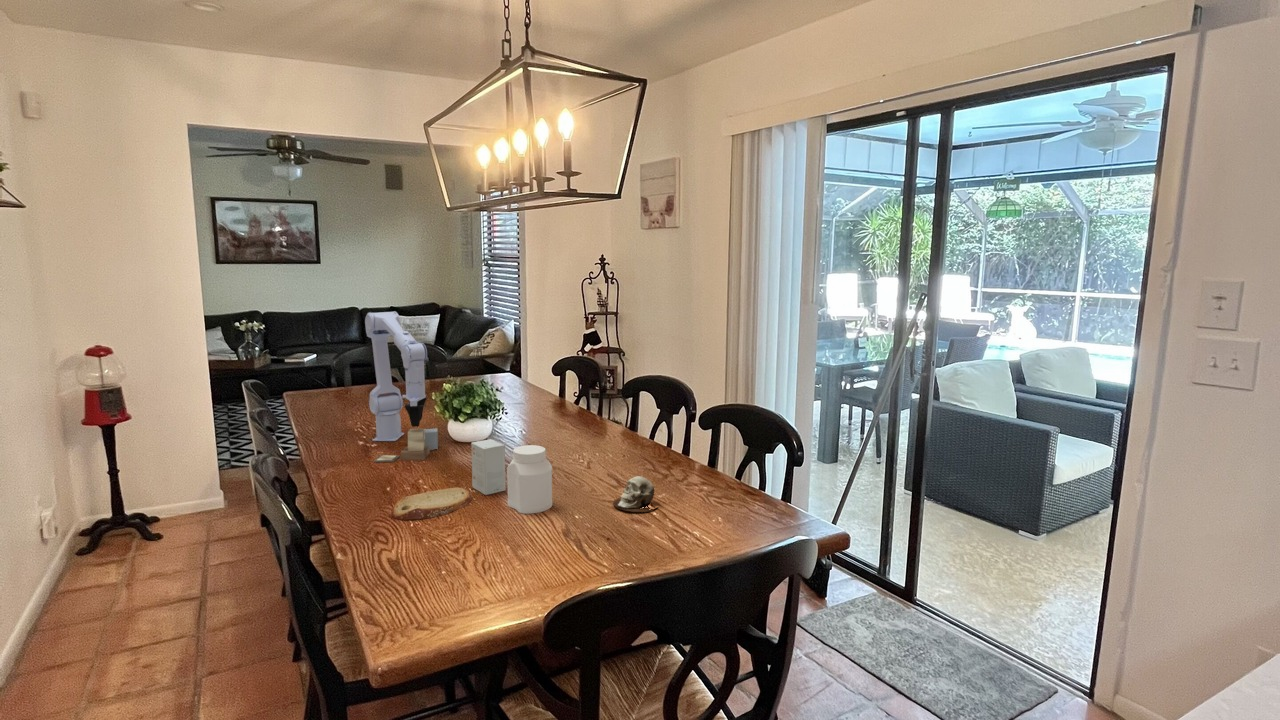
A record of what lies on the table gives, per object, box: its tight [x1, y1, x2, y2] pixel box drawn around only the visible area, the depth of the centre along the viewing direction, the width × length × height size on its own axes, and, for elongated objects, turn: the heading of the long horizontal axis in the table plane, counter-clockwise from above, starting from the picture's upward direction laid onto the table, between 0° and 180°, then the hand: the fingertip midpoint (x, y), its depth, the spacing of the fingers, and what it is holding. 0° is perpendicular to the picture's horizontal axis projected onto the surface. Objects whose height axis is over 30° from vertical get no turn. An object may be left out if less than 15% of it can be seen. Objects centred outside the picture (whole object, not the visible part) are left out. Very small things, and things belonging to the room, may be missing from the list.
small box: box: [470, 438, 507, 496], centre depth 187 cm, size 8×6×13 cm
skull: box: [612, 475, 655, 513], centre depth 177 cm, size 12×10×10 cm
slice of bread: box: [390, 486, 472, 522], centre depth 174 cm, size 18×18×4 cm
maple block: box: [407, 428, 426, 451], centre depth 215 cm, size 4×4×6 cm
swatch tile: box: [373, 454, 401, 463], centre depth 212 cm, size 6×6×1 cm
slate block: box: [424, 428, 439, 451], centre depth 225 cm, size 4×4×6 cm
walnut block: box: [400, 445, 431, 461], centre depth 215 cm, size 7×7×3 cm
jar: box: [506, 444, 553, 515], centre depth 175 cm, size 12×10×15 cm
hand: (416, 423), depth 217 cm, fingers open, 7 cm apart
